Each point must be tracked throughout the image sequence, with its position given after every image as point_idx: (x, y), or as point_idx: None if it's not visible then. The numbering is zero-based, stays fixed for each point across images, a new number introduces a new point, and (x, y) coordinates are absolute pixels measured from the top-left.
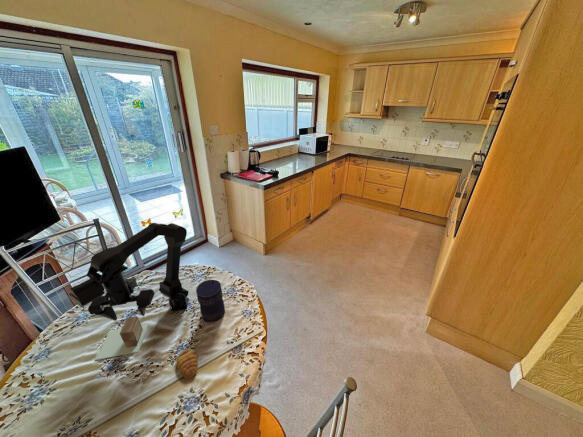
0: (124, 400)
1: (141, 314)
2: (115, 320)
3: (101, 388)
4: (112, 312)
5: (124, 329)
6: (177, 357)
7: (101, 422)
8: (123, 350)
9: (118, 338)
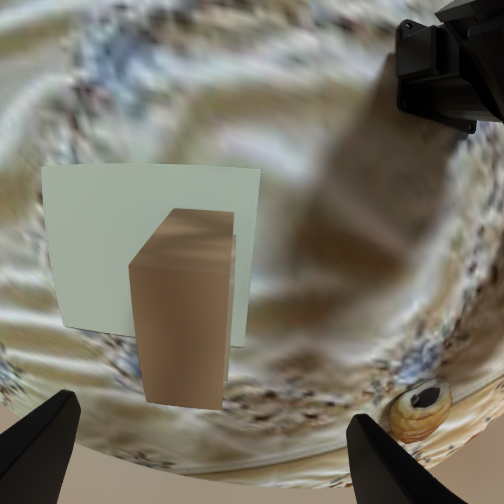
0: (240, 456)
1: (353, 478)
2: (77, 415)
3: (154, 421)
4: (29, 481)
5: (166, 383)
6: (404, 417)
7: (201, 472)
8: None
9: (105, 238)
